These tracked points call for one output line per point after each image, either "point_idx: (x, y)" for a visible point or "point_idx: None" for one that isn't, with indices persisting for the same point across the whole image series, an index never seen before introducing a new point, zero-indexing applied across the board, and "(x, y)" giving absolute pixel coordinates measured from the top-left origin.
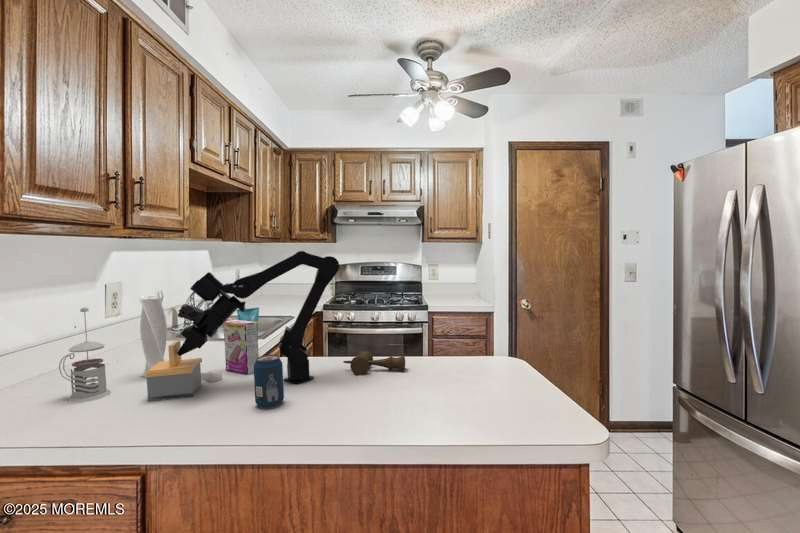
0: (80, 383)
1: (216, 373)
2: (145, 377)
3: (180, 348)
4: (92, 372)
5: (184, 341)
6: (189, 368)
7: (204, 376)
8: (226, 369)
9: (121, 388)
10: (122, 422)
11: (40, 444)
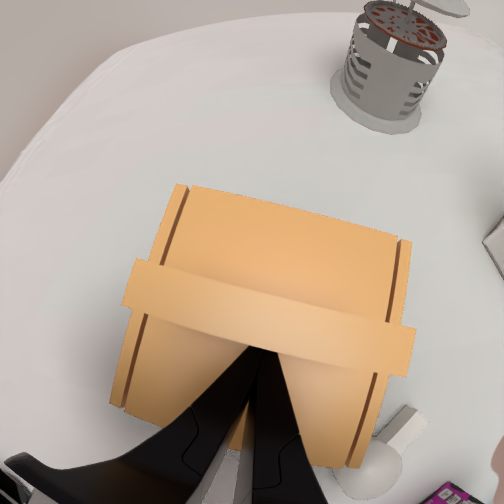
0: (349, 47)
1: (340, 484)
2: (501, 219)
3: (220, 375)
4: (363, 43)
5: (165, 428)
6: (117, 392)
7: (391, 430)
8: (447, 484)
9: (421, 157)
10: (77, 189)
11: (83, 86)
